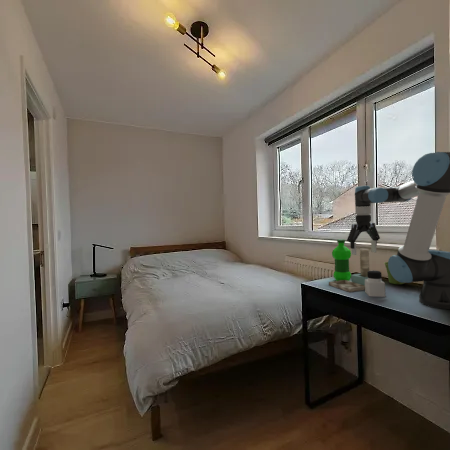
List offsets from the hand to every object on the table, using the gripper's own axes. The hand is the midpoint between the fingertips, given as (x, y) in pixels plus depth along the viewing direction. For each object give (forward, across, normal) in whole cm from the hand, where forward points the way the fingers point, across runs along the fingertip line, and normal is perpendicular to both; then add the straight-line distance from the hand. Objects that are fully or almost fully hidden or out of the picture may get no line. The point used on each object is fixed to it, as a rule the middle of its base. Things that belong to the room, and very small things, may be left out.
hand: (364, 253), depth 149 cm
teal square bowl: (+18, 0, 0) cm, 18 cm away
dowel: (+18, 0, 0) cm, 18 cm away
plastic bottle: (+18, +3, -13) cm, 23 cm away
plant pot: (+18, -19, +4) cm, 27 cm away
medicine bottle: (+18, +8, +14) cm, 25 cm away
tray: (+18, +11, -2) cm, 21 cm away
